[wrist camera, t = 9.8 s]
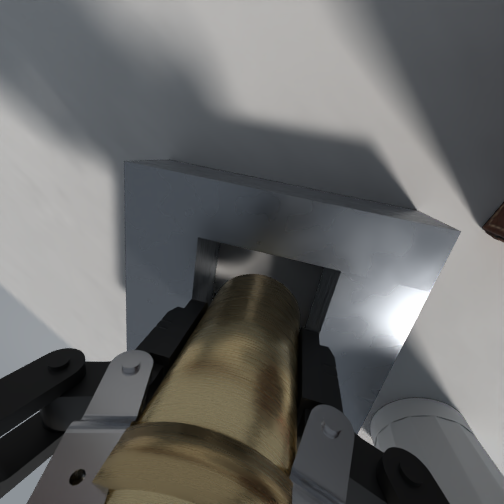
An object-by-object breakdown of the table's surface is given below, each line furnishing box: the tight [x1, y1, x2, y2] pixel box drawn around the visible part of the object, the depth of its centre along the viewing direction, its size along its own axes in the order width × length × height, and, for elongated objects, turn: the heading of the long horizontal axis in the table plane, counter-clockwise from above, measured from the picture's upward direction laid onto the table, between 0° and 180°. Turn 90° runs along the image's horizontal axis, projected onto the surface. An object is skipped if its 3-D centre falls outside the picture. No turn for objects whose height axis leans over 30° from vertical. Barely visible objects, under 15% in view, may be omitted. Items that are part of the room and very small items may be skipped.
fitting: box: [92, 274, 300, 504], centre depth 9 cm, size 5×5×9 cm
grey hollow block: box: [124, 160, 461, 434], centre depth 15 cm, size 12×14×4 cm
